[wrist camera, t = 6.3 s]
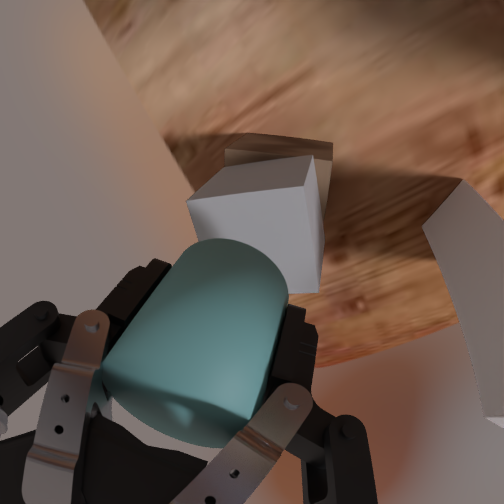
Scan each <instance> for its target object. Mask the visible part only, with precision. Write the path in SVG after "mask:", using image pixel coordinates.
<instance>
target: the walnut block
mask: <svg viewBox="0 0 504 504" xmlns="http://www.w3.org/2000/svg"><path fill="white" fill-rule="evenodd" d="M307 155H313V159H314V165H315V171H316V177H317V184H318V191H319V198H320V205H321V212H322V220H323V223H324V217H325V210H326V204H327V197H328V190H329V183H330V176H331V169H332V161H333V143H331V142H324V141H317V140H310V139H302V138H294V137H286V136H277V135H267V134H256V133H247V134H245V135H244V136H242V137H241V138H239V139H238V140H236V141H235V142H234V143H232V144H231V145H229V146H228V147H227V148H225V167H228V166H234V165H240V164H247V163H253V162H260V161H267V160H274V159H282V158H290V157H298V156H307Z"/></svg>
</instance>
